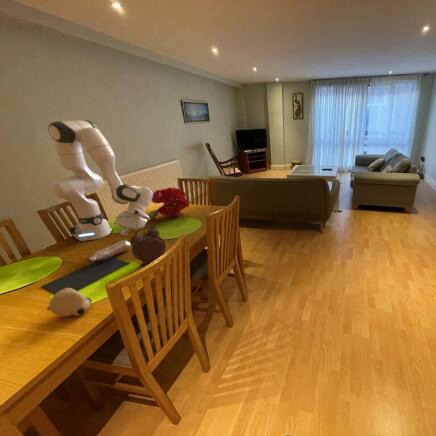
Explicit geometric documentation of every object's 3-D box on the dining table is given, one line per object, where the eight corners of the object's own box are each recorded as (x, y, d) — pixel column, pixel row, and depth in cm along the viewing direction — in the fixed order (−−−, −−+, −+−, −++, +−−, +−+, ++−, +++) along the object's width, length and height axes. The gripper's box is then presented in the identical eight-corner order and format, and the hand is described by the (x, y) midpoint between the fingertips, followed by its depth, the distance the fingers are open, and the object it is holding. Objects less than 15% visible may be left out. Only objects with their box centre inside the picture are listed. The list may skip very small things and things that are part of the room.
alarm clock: (161, 253, 133) (152, 220, 125) (169, 256, 130) (161, 223, 122) (134, 266, 122) (123, 231, 114) (142, 270, 118) (131, 234, 110)
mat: (41, 286, 108) (41, 286, 107) (107, 256, 131) (107, 255, 131) (64, 297, 101) (63, 296, 101) (128, 263, 124) (128, 262, 124)
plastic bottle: (132, 250, 138) (95, 269, 121) (124, 246, 140) (86, 263, 122) (132, 241, 135) (93, 258, 118) (123, 237, 137) (84, 253, 119)
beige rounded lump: (70, 328, 90) (87, 311, 88) (35, 314, 85) (52, 295, 83) (86, 309, 99) (101, 293, 97) (55, 294, 94) (70, 277, 92)
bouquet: (159, 232, 173) (193, 207, 177) (133, 207, 163) (170, 182, 167) (162, 223, 192) (193, 201, 196) (139, 200, 182) (173, 177, 186)
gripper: (118, 208, 140) (106, 229, 135) (142, 212, 132) (129, 236, 128) (128, 212, 145) (116, 233, 141) (151, 217, 138) (139, 239, 133)
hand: (122, 234), depth 134 cm, fingers closed
